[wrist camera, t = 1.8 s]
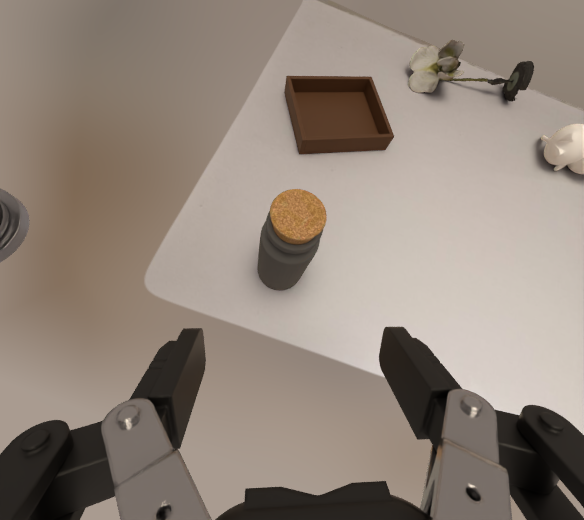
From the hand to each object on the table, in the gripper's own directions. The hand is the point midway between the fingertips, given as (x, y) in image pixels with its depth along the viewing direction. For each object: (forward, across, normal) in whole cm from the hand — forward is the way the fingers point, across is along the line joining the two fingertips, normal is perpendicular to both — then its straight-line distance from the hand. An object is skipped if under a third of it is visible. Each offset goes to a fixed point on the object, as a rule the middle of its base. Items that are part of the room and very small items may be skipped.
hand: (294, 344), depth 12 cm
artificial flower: (+51, -36, -22) cm, 66 cm away
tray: (+42, -10, -14) cm, 45 cm away
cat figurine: (+42, -54, -9) cm, 69 cm away
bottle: (+24, 0, +6) cm, 25 cm away
